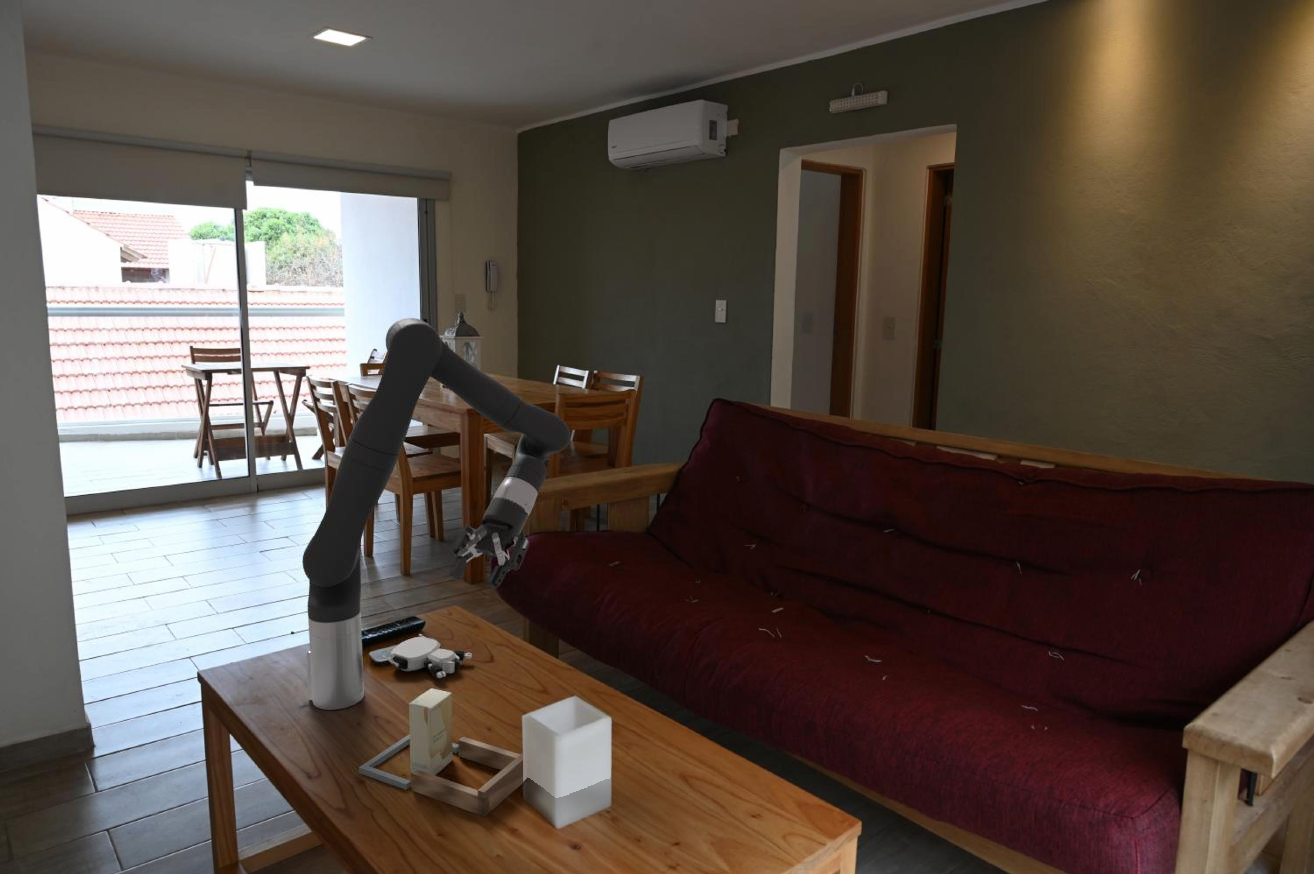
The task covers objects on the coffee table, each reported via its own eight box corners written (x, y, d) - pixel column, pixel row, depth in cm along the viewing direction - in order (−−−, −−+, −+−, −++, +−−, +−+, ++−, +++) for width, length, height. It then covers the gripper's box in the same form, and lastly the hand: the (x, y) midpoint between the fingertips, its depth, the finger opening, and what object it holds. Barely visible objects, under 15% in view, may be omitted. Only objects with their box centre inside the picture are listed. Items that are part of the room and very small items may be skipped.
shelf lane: (412, 790, 132) (411, 767, 131) (463, 752, 143) (462, 731, 142) (484, 816, 126) (484, 792, 125) (531, 774, 137) (531, 752, 136)
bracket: (359, 772, 136) (358, 767, 136) (414, 735, 148) (414, 730, 147) (406, 789, 132) (406, 784, 132) (459, 750, 143) (459, 744, 143)
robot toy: (475, 666, 177) (416, 649, 182) (476, 646, 176) (417, 630, 181) (440, 691, 166) (379, 672, 171) (441, 670, 165) (379, 652, 170)
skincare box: (431, 779, 135) (429, 709, 133) (409, 773, 136) (406, 703, 134) (454, 758, 141) (453, 691, 139) (432, 753, 142) (430, 686, 140)
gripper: (471, 491, 159) (431, 565, 151) (533, 501, 152) (495, 579, 144) (489, 511, 164) (451, 585, 156) (550, 522, 158) (513, 599, 150)
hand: (472, 582), depth 150 cm, fingers open, 8 cm apart
